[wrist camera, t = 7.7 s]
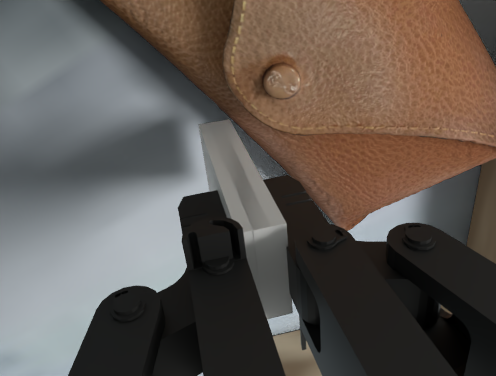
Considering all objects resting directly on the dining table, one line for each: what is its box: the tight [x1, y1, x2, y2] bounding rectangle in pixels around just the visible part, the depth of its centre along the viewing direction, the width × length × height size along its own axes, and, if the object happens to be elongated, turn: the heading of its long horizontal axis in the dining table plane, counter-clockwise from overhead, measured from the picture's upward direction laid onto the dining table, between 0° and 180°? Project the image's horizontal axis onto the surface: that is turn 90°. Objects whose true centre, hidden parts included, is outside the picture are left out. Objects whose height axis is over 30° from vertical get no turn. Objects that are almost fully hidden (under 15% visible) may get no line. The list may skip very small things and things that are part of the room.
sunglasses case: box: [100, 0, 496, 231], centre depth 14 cm, size 18×7×7 cm
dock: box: [273, 158, 496, 376], centre depth 17 cm, size 12×27×3 cm, turn 5°
